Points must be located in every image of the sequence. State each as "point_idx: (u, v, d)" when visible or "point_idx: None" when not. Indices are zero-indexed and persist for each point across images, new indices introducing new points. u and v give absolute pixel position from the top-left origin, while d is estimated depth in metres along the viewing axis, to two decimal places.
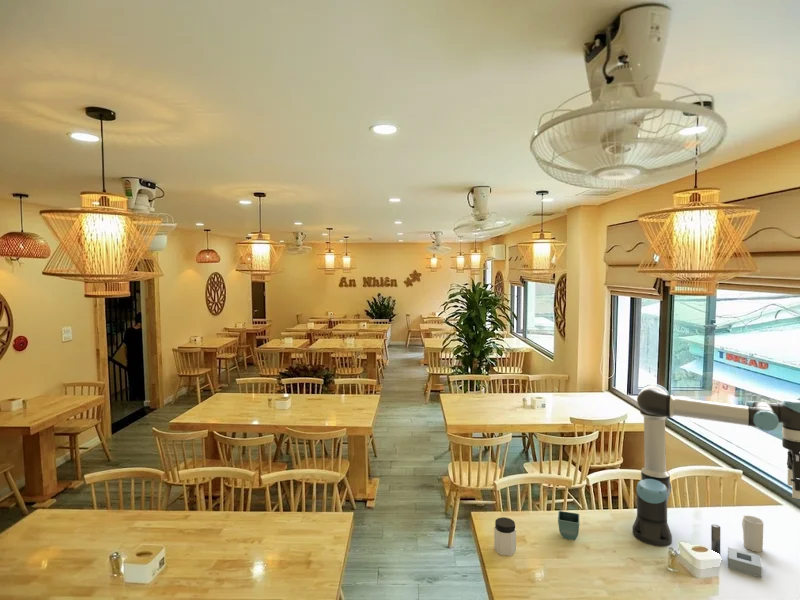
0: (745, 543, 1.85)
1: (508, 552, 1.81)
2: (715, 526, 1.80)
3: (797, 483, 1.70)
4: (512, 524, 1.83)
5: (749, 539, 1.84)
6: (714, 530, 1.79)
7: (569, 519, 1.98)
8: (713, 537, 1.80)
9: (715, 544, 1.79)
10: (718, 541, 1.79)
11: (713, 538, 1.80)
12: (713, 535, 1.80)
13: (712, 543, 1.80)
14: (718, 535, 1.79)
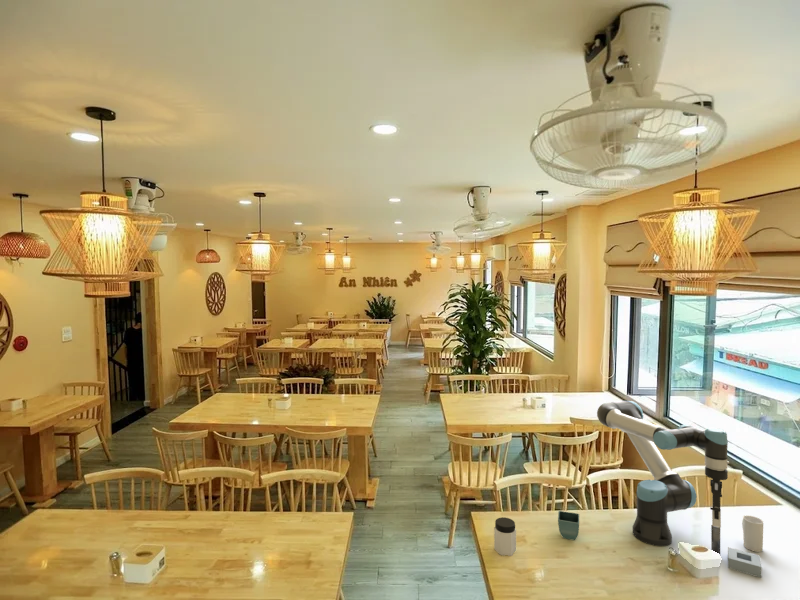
0: (745, 543, 1.85)
1: (508, 552, 1.81)
2: (715, 526, 1.80)
3: (716, 512, 1.73)
4: (512, 524, 1.83)
5: (749, 539, 1.84)
6: (714, 530, 1.79)
7: (569, 519, 1.98)
8: (713, 537, 1.80)
9: (715, 544, 1.79)
10: (718, 541, 1.79)
11: (713, 538, 1.80)
12: (713, 535, 1.80)
13: (712, 543, 1.80)
14: (718, 535, 1.79)
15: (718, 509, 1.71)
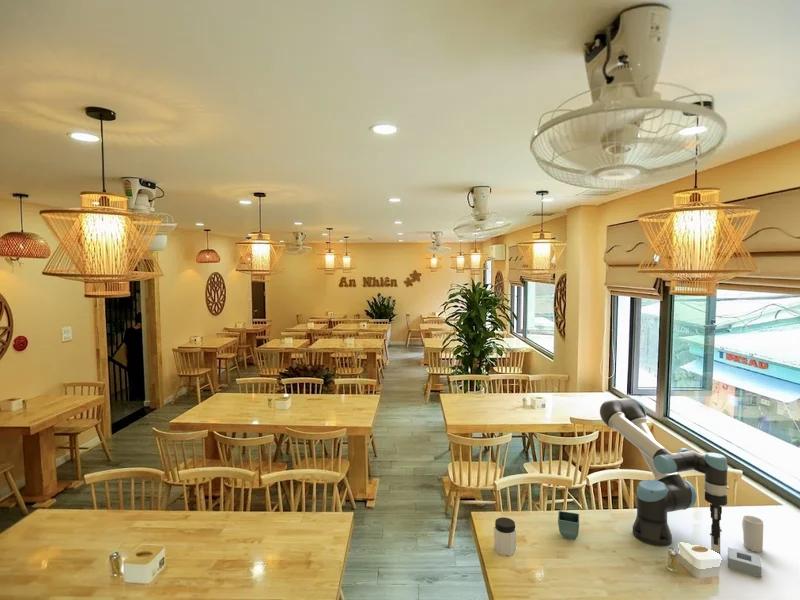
0: (745, 543, 1.85)
1: (508, 552, 1.81)
2: None
3: (715, 537, 1.78)
4: (512, 524, 1.83)
5: (749, 539, 1.84)
6: None
7: (569, 519, 1.98)
8: None
9: None
10: None
11: None
12: None
13: None
14: None
15: (717, 535, 1.76)
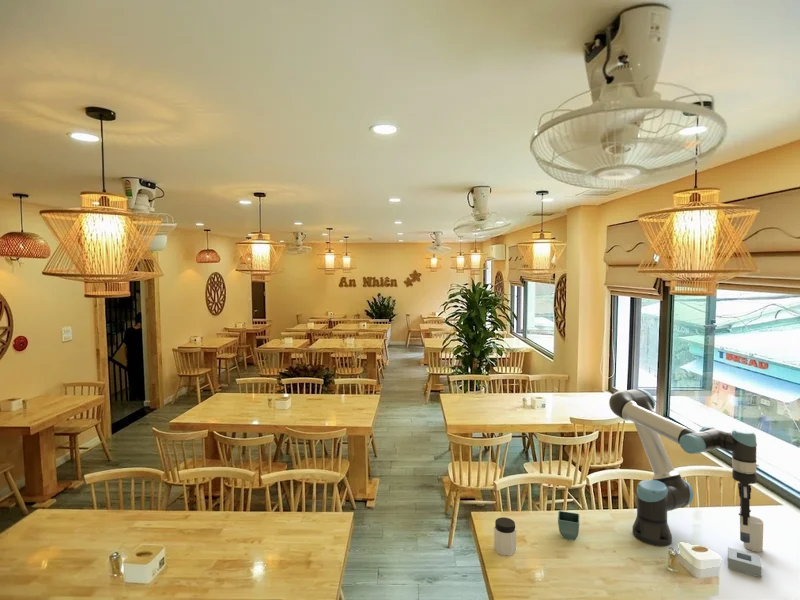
0: (745, 543, 1.85)
1: (508, 552, 1.81)
2: None
3: (744, 517, 1.69)
4: (512, 524, 1.83)
5: None
6: None
7: (569, 519, 1.98)
8: None
9: None
10: None
11: None
12: None
13: None
14: None
15: (747, 515, 1.68)
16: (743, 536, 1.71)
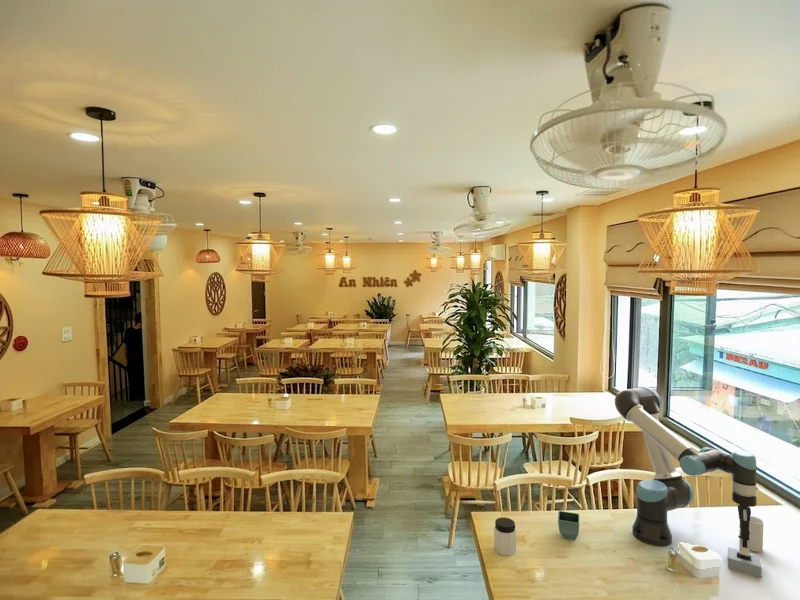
0: None
1: (508, 552, 1.81)
2: None
3: (744, 540, 1.70)
4: (512, 524, 1.83)
5: None
6: None
7: (569, 519, 1.98)
8: None
9: None
10: None
11: None
12: None
13: None
14: None
15: (747, 538, 1.68)
16: (742, 558, 1.72)
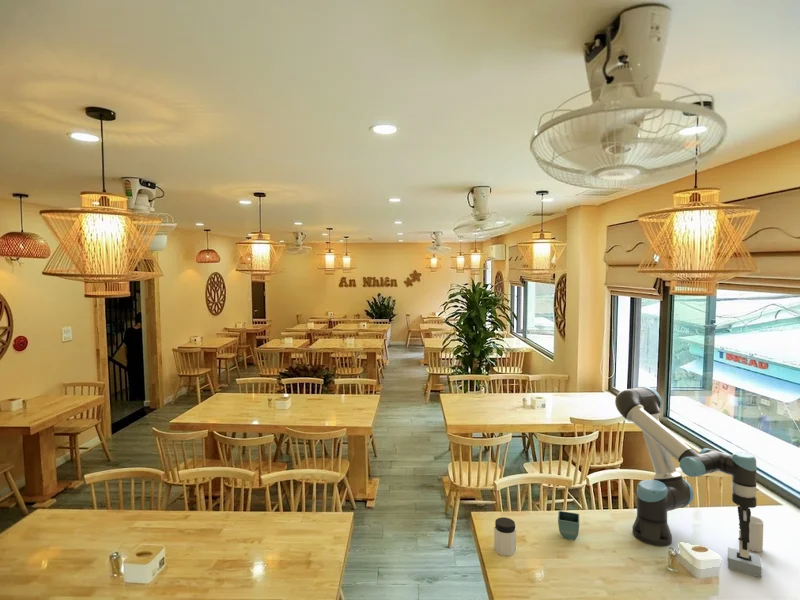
0: None
1: (508, 552, 1.81)
2: None
3: (744, 542, 1.68)
4: (512, 524, 1.83)
5: (749, 539, 1.84)
6: None
7: (569, 519, 1.98)
8: None
9: None
10: None
11: None
12: None
13: None
14: None
15: (747, 540, 1.66)
16: None
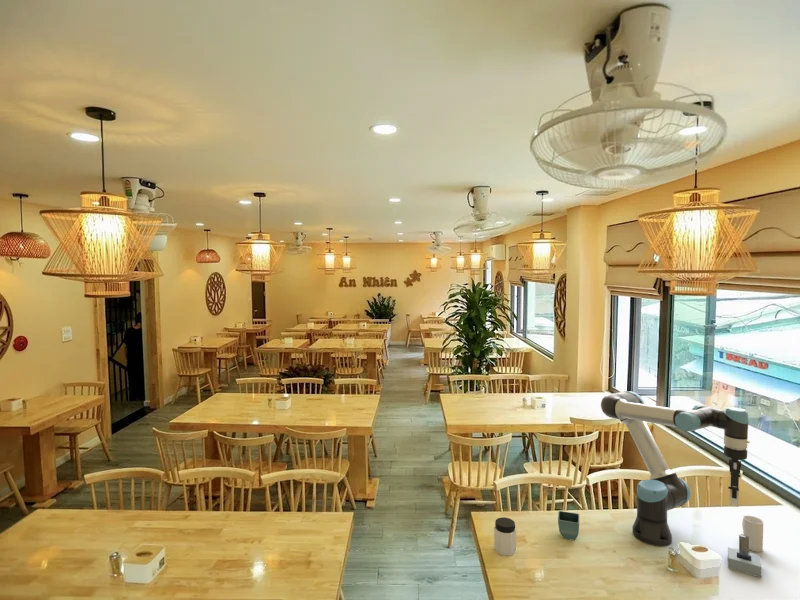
0: None
1: (508, 552, 1.81)
2: (743, 536, 1.72)
3: (734, 491, 1.71)
4: (512, 524, 1.83)
5: (749, 539, 1.84)
6: (742, 540, 1.72)
7: (569, 519, 1.98)
8: (741, 548, 1.72)
9: (743, 554, 1.72)
10: (747, 552, 1.71)
11: (741, 549, 1.72)
12: (741, 546, 1.72)
13: (740, 554, 1.73)
14: (746, 546, 1.71)
15: (736, 488, 1.69)
16: None
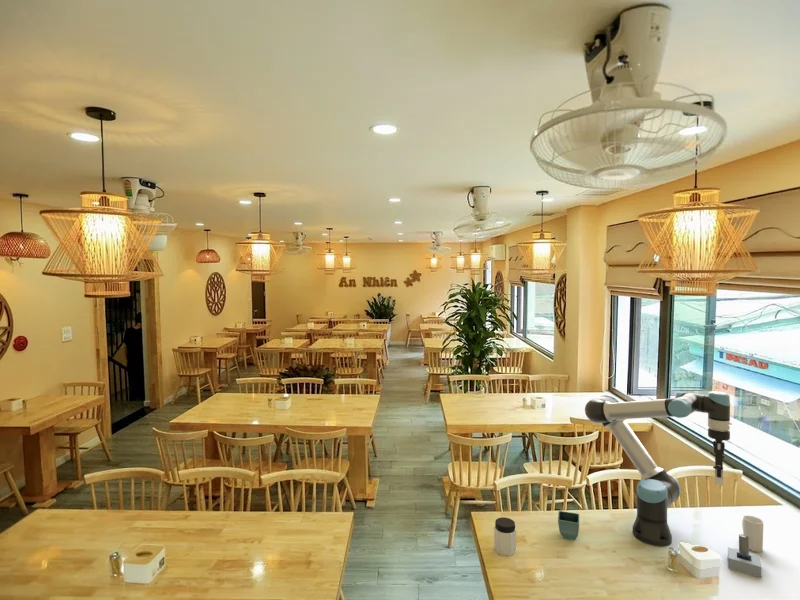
0: None
1: (508, 552, 1.81)
2: (743, 536, 1.72)
3: (718, 470, 1.80)
4: (512, 524, 1.83)
5: (749, 539, 1.84)
6: (742, 540, 1.72)
7: (569, 519, 1.98)
8: (741, 548, 1.72)
9: (743, 554, 1.72)
10: (746, 552, 1.71)
11: (741, 549, 1.72)
12: (741, 546, 1.72)
13: (740, 554, 1.73)
14: (746, 546, 1.71)
15: (721, 467, 1.78)
16: None
